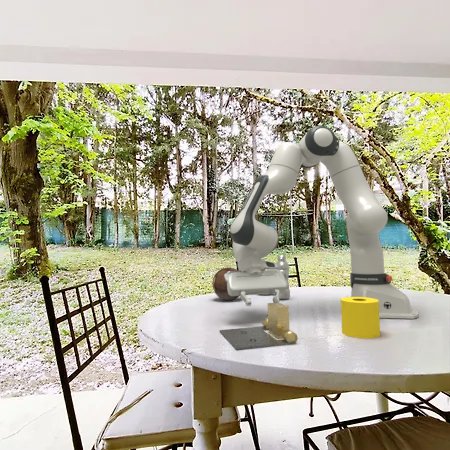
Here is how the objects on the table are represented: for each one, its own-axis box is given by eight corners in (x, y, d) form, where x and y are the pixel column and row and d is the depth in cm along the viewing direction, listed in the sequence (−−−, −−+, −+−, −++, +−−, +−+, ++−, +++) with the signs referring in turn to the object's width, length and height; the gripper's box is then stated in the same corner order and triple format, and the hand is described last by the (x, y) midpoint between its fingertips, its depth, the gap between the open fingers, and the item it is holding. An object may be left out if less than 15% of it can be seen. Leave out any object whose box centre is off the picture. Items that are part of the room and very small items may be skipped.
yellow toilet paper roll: (373, 340, 87) (371, 304, 88) (336, 334, 94) (334, 300, 94) (385, 332, 95) (383, 298, 95) (350, 327, 101) (348, 295, 102)
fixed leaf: (219, 331, 99) (219, 321, 100) (271, 327, 104) (271, 317, 104) (236, 350, 82) (236, 337, 82) (297, 343, 86) (297, 331, 86)
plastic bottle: (275, 298, 156) (274, 255, 157) (290, 298, 155) (288, 255, 156) (275, 300, 150) (274, 255, 151) (290, 300, 149) (289, 255, 150)
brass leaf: (268, 332, 97) (267, 303, 98) (279, 331, 98) (278, 302, 99) (277, 339, 91) (276, 307, 91) (289, 338, 92) (288, 306, 92)
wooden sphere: (245, 297, 161) (245, 266, 162) (244, 303, 146) (243, 268, 147) (215, 297, 162) (214, 266, 163) (210, 303, 147) (209, 269, 148)
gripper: (224, 265, 112) (233, 299, 102) (281, 263, 117) (294, 295, 107) (221, 277, 116) (229, 311, 106) (276, 274, 121) (289, 307, 111)
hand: (263, 303), depth 106 cm, fingers open, 8 cm apart
